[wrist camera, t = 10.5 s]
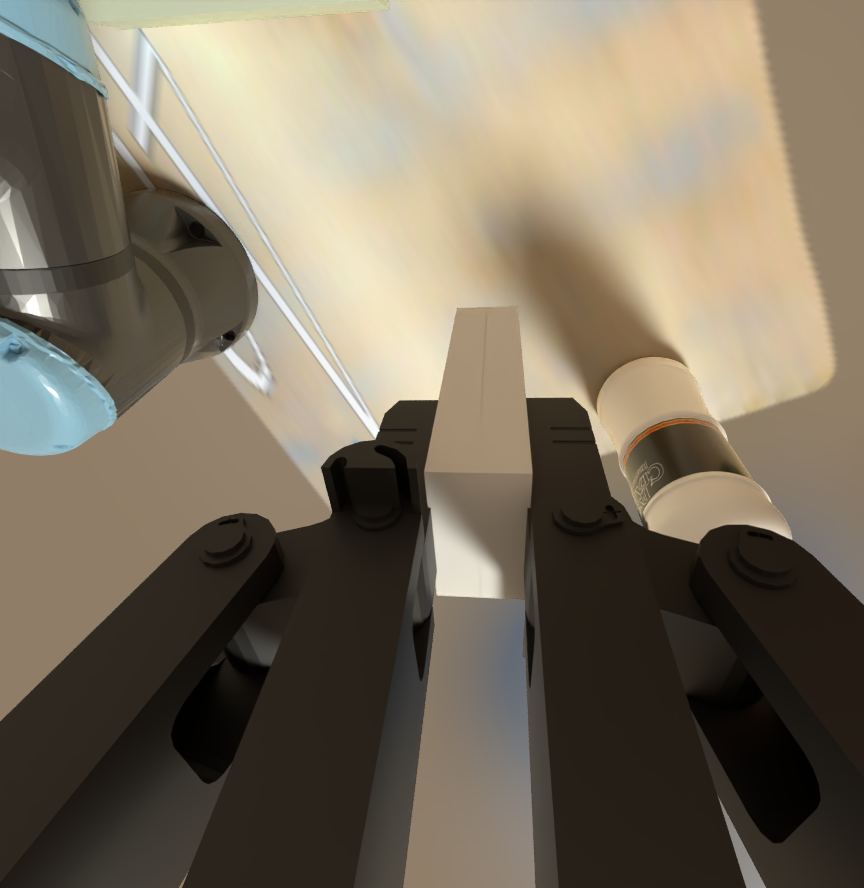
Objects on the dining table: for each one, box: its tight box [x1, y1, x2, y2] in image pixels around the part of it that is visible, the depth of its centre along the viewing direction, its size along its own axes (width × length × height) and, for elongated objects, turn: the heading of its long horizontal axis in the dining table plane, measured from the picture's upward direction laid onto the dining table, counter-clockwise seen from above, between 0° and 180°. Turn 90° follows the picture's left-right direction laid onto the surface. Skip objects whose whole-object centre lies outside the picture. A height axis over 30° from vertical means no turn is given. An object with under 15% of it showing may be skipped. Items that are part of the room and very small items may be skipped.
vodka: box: [597, 357, 792, 544], centre depth 36 cm, size 9×9×30 cm
